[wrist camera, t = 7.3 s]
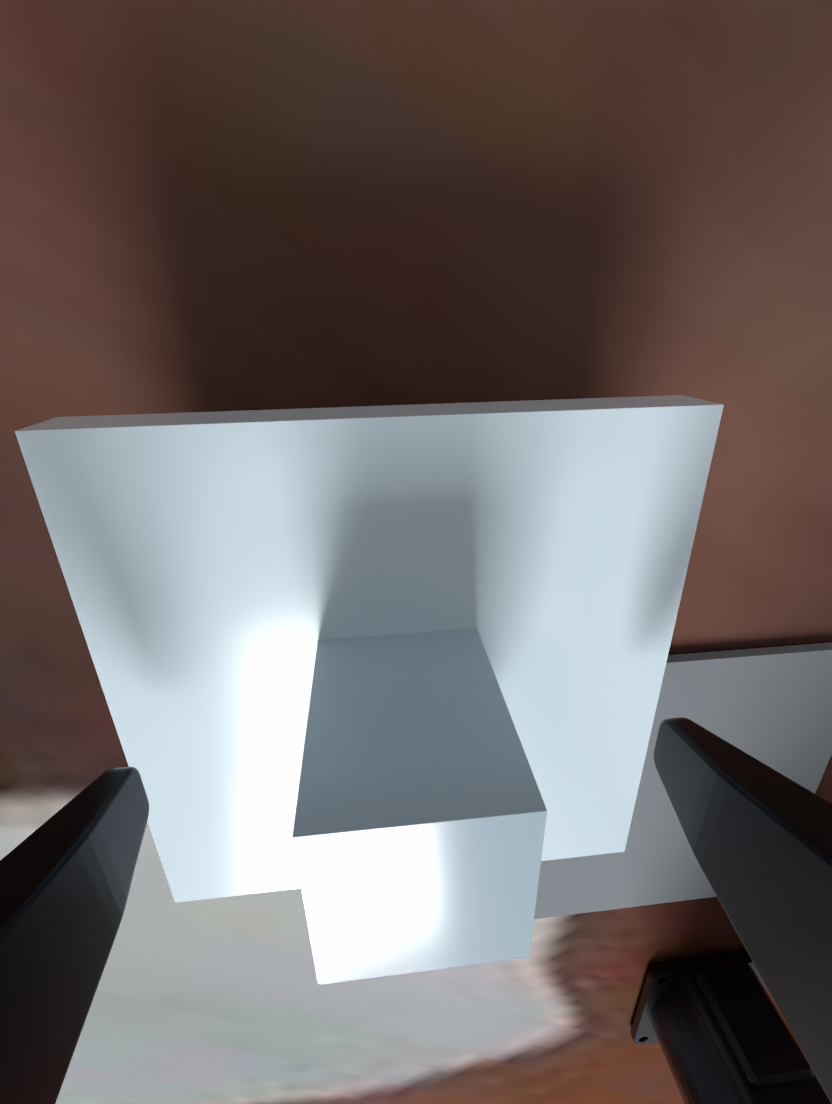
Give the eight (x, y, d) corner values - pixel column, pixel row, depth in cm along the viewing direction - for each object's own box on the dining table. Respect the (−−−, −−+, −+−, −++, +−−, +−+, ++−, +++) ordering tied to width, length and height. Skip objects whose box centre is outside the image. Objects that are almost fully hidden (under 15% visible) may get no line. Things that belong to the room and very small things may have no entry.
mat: (767, 880, 23) (774, 889, 23) (485, 914, 22) (487, 924, 22) (867, 639, 18) (877, 646, 17) (500, 668, 17) (503, 676, 16)
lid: (604, 810, 14) (727, 1057, 9) (190, 854, 13) (95, 1153, 8) (682, 394, 10) (999, 467, 5) (58, 417, 9) (-308, 533, 4)
